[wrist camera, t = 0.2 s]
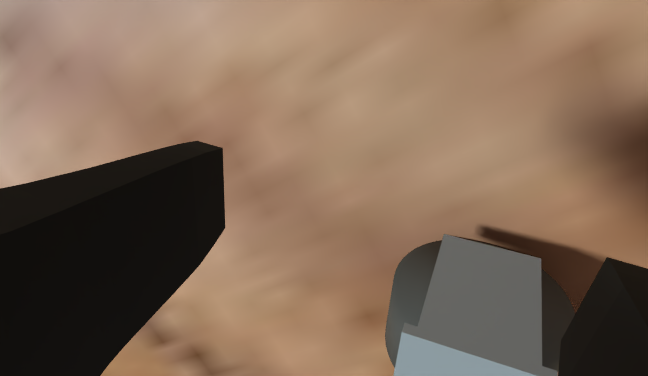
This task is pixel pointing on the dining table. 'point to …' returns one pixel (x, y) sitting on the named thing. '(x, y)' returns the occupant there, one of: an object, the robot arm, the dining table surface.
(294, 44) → the dining table surface
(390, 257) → the dining table surface
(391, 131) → the dining table surface
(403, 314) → the castor
